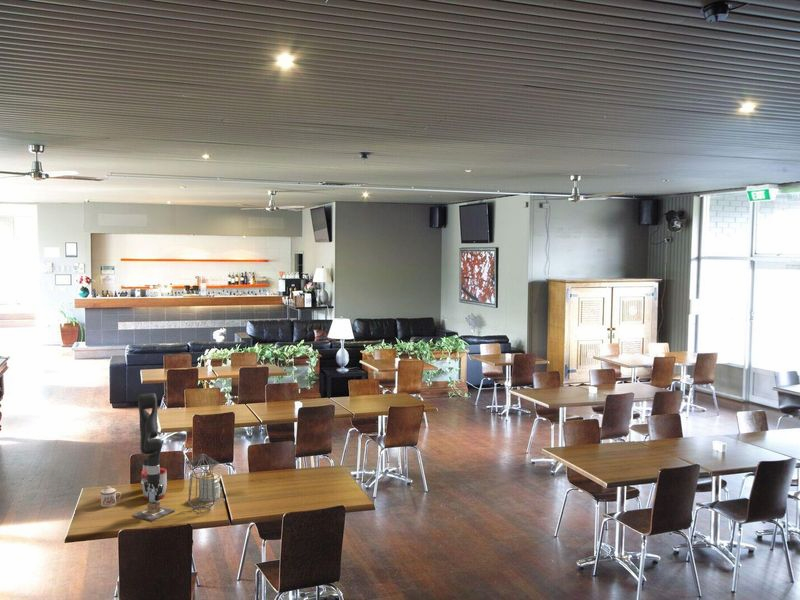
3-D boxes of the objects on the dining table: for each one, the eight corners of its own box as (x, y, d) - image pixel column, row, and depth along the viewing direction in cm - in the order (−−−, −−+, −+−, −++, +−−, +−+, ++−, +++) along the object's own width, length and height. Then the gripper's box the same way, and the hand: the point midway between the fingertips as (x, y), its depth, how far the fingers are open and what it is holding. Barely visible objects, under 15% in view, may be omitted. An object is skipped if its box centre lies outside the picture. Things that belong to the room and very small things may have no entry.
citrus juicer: (133, 499, 463) (133, 468, 461) (154, 491, 478) (154, 461, 476) (151, 504, 455) (151, 472, 454) (172, 495, 471) (172, 465, 469)
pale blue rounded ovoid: (153, 498, 442) (153, 489, 442) (159, 500, 440) (159, 490, 439) (147, 501, 438) (147, 491, 437) (153, 503, 435) (153, 493, 435)
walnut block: (153, 509, 443) (153, 500, 442) (159, 511, 440) (159, 501, 440) (147, 512, 438) (147, 502, 438) (153, 514, 436) (153, 504, 435)
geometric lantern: (183, 509, 447) (184, 453, 445) (206, 504, 458) (207, 449, 456) (196, 516, 436) (197, 458, 434) (220, 510, 447) (220, 454, 445)
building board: (155, 506, 451) (155, 503, 451) (174, 511, 444) (174, 508, 444) (132, 516, 435) (132, 513, 435) (152, 521, 428) (152, 518, 428)
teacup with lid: (101, 508, 446) (101, 490, 445) (99, 503, 454) (99, 485, 453) (122, 505, 452) (122, 487, 451) (120, 500, 460) (119, 482, 459)
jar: (214, 502, 460) (214, 475, 458) (195, 500, 462) (194, 473, 461) (223, 495, 473) (223, 469, 471) (204, 493, 475) (204, 467, 474)
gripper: (166, 472, 437) (167, 500, 439) (149, 468, 444) (149, 495, 445) (157, 475, 431) (157, 504, 432) (139, 471, 437) (140, 499, 439)
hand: (153, 499), depth 439 cm, fingers closed on pale blue rounded ovoid, 4 cm apart
